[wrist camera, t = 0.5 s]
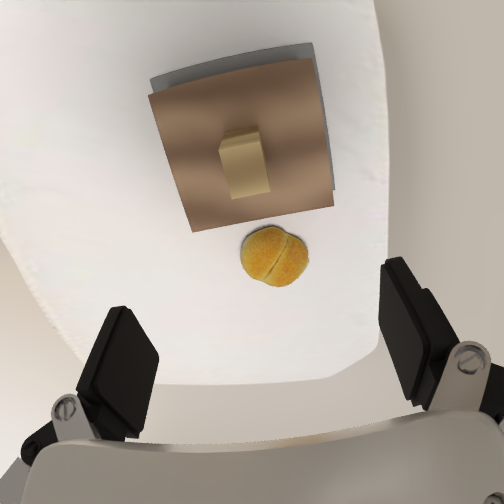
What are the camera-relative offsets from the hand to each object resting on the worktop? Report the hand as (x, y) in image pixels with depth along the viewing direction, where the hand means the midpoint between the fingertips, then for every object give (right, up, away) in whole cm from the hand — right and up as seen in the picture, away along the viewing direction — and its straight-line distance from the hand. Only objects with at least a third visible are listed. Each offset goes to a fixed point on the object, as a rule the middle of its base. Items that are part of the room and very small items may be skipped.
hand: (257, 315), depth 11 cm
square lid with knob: (-1, +16, +22) cm, 27 cm away
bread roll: (+3, +2, +33) cm, 33 cm away
